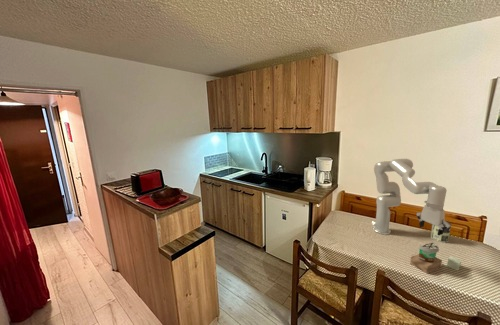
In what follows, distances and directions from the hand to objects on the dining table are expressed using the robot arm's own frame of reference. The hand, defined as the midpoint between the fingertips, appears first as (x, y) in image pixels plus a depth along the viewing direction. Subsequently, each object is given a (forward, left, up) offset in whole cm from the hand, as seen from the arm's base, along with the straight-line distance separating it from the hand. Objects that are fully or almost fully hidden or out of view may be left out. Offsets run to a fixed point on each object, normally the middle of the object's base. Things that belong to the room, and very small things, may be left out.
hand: (430, 230), depth 122 cm
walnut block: (+1, -2, -24) cm, 24 cm away
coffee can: (-13, +40, -24) cm, 48 cm away
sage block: (+8, +13, -24) cm, 28 cm away
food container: (+3, -2, -19) cm, 19 cm away
